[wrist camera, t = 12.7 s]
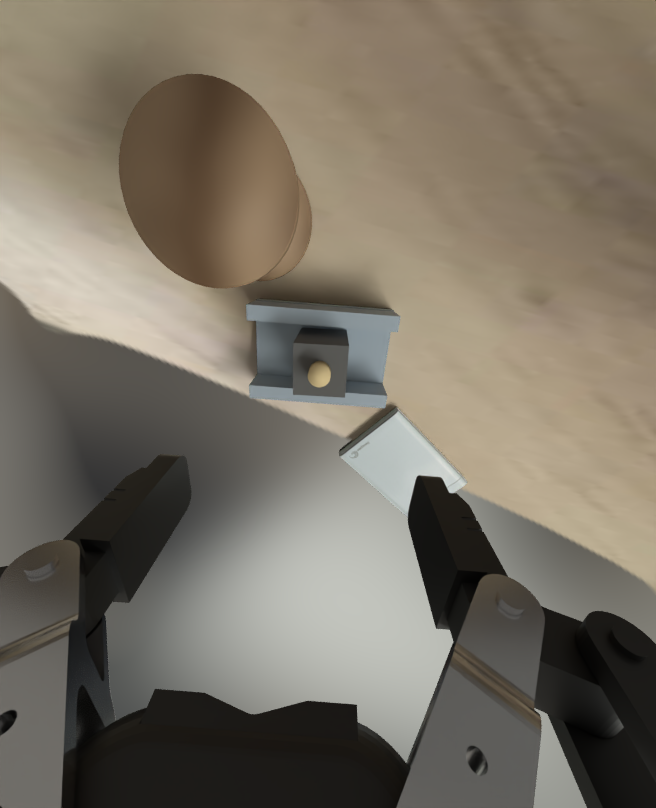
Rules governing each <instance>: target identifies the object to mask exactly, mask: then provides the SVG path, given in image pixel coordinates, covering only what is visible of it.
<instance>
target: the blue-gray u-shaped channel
mask: <svg viewBox="0 0 656 808" xmlns="http://www.w3.org/2000/svg"><path fill="white" fill-rule="evenodd" d="M246 313H247V320H250V321H256V334H257V373H258V374H257V375H256V377H255V378H254V379H253V381H252V382H251V383H250V385H249V392H250V398H258V399H271V400H284V401H297V402H310V403H323V404H336V405H349V406H362V407H375V408H385V406H386V400H387V394H386V391H385V389H384V386H383V384H382V383H383V377H384V371H385V364H386V358H387V352H388V345H389V339H390V333H391V332H398V328H399V322H400V316H399V315H398V314H397V313H395V312H394V310H392V309H382V308H369V307H357V306H344V305H331V304H319V303H306V302H293V301H281V300H268V299H256V301H253V302H251V303H248V304H246ZM302 327H303V328H320V329H337V330H347V335H348V342H349V354H348V367H347V379H346V391H345V398H341V397H324V396H307V395H293V342H294V340H295V339H296V337H297V335H298V333H299V332H300V330H301V328H302Z"/></svg>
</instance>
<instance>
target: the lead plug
mask: <svg viewBox="0 0 656 808" xmlns="http://www.w3.org/2000/svg"><path fill="white" fill-rule="evenodd" d="M348 354H349V342H348V335H347V330H337V329H320V328H303V327H302V328H301V330H300V332H299V333H298V335H297V337H296V339H295V340H294V342H293V395H307V396H324V397H341V398H345V391H346V379H347V367H348Z"/></svg>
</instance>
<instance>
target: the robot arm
mask: <svg viewBox="0 0 656 808" xmlns="http://www.w3.org/2000/svg"><path fill="white" fill-rule="evenodd" d="M190 500H191V485H190V479H189V472H188V465H187V460H186V457H185V456H180V455H167V454H160V455H158V456H157V457H156V458H155V459H154V460H153V462H152V463H151V464H150V465H149V466H148V467H147V468H140V469H139V470H137V471H135V472H134V473H132V474H130V475H128V476H127V477H125V478H124V479H123V480H122V481H121V482H120V483H119V484H118V485H117V486H116V487H115V489H114V491H111V492H110V493H109V494H108V495H107V496H106V497H105V498H104V501H101V502H100V503H99V504H98V505H97V506H96V507H95V508H94V509H93V510H92V511H91V512H90V513H89V514H88V515H87V516H86V517H85V518H84V519H83V520H82V521H81V522H80V523H79V524H78V525H77V526H76V527H75V528H74V529H73V530H72V531H71V532H70V533H69V534H68V535H67V536H66V537H65V538H64V539H63V540H56V541H51V542H47V543H44V544H42V545H39V546H37V547H35V548H33V549H31V550H29V551H27V552H26V553H24V554H22V555H21V556H19V557H18V558H17V559H15V560H14V561H13V562H12V563H11V564H10V565H9V566H5V567H0V808H533V805H534V796H535V787H536V777H537V768H538V759H539V750H540V740H541V717H540V714H539V713H537V712H536V711H535V710H534V708H536V709H538V710H541V711H543V712H545V713H547V714H548V716H549V719H550V721H551V723H552V726H553V728H554V730H555V733H556V735H557V738H558V740H559V742H560V744H561V747H562V749H563V752H564V754H565V757H566V759H567V761H568V764H569V766H570V768H571V771H572V773H573V775H574V778H575V780H576V783H577V785H578V787H579V790H580V792H581V794H582V797H583V799H584V801H585V804H586V806H587V808H656V644H655V643H654V642H653V641H652V640H651V639H650V638H649V637H648V636H647V635H646V634H645V633H643V632H642V631H641V630H640V629H638V628H637V627H636V626H634V625H633V624H631V623H630V622H628V621H626V620H624V619H623V618H621V617H619V616H616V615H614V614H611V613H608V612H603V611H595V612H591V613H589V614H588V616H587V617H586V618H585V620H584V621H583V622H581V621H579V620H576V619H573V618H570V617H568V616H565V615H562V614H560V613H557V612H554V611H552V610H549V609H547V608H544V607H542V606H541V605H540V603H539V602H538V600H537V599H536V598H535V596H534V595H533V594H532V593H531V592H530V591H529V590H528V589H527V588H526V587H524V586H523V585H521V584H520V583H519V582H517V581H515V580H514V579H511V578H509V577H508V576H507V574H506V572H505V570H504V569H503V567H502V565H501V563H500V561H499V559H498V558H497V556H496V554H495V552H494V550H493V548H492V547H491V545H490V543H489V541H488V540H487V537H486V536H485V534H484V532H482V528H481V526H480V525H479V523H478V521H476V518H475V516H474V514H473V512H472V510H471V508H470V506H469V505H468V504H467V503H466V502H465V501H464V500H463V499H462V498H461V497H460V496H459V495H458V494H457V493H449V491H448V489H447V487H446V485H445V483H444V481H443V479H442V478H441V477H434V476H422V475H418V476H417V478H416V481H415V485H414V489H413V493H412V497H411V501H410V505H409V510H408V525H409V530H410V533H411V537H412V541H413V545H414V548H415V552H416V556H417V560H418V563H419V567H420V571H421V574H422V578H423V582H424V586H425V589H426V593H427V596H428V600H429V604H430V607H431V611H432V615H433V619H434V622H435V626H436V629H449V630H450V631H451V634H452V638H453V641H454V642H453V644H452V647H451V649H450V652H449V655H448V657H447V660H446V662H445V665H444V668H443V670H442V673H441V675H440V678H439V681H438V683H437V686H436V688H435V691H434V694H433V697H432V699H431V701H430V704H429V707H428V709H427V712H426V714H425V717H424V720H423V722H422V725H421V727H420V729H419V732H418V735H417V737H416V740H415V742H414V744H413V747H412V749H411V752H410V755H409V757H408V760H407V762H406V763H405V761H404V760H403V759H402V758H401V756H400V755H399V754H398V753H397V752H396V751H395V750H394V749H393V748H392V746H391V745H390V744H389V743H387V742H386V741H385V740H384V739H383V738H382V737H381V736H379V735H378V734H377V733H375V732H374V731H372V730H371V729H369V728H368V727H366V726H364V725H362V724H360V723H358V722H357V705H353V704H341V703H327V702H315V701H305V702H301V703H298V704H294V705H290V706H286V707H283V708H279V709H275V710H271V711H268V712H264V713H260V714H255V715H254V714H248V713H246V712H244V711H242V710H239V709H237V708H235V707H233V706H231V705H229V704H227V703H225V702H223V701H221V700H219V699H216V698H214V697H212V696H210V695H208V694H206V693H199V692H187V691H174V690H161V689H155V690H154V693H153V695H152V698H151V699H150V702H149V704H148V706H147V708H144V709H141V710H138V711H136V712H133V713H131V714H128V715H126V716H124V717H122V718H120V719H119V720H117V721H116V719H115V713H114V707H113V703H112V699H111V693H110V683H109V664H108V646H107V627H106V616H105V614H104V613H105V612H106V610H107V609H108V607H109V606H110V604H111V603H112V601H113V602H125V603H129V602H130V601H131V599H132V597H133V596H134V594H135V593H136V591H137V589H138V588H139V586H140V584H141V583H142V581H143V580H144V578H145V576H146V575H147V573H148V572H149V570H150V568H151V567H152V565H153V564H154V562H155V560H156V559H157V557H158V555H159V554H160V552H161V551H162V549H163V547H164V546H165V544H166V543H167V541H168V539H169V538H170V536H171V535H172V533H173V531H174V529H175V528H176V527H177V525H178V523H179V522H180V520H181V518H182V517H183V515H184V514H185V512H186V510H187V508H188V506H189V503H190Z"/></svg>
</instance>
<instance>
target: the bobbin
mask: <svg viewBox="0 0 656 808" xmlns="http://www.w3.org/2000/svg"><path fill="white" fill-rule="evenodd" d="M119 174H120V183H121V189H122V193H123V198H124V202H125V205H126V208H127V211H128V213H129V216H130V218H131V220H132V222H133V225H134V227H135V228H136V230H137V232H138V234H139V235H140V237H141V239H142V240H143V242H144V243H145V244H146V246H147V247H148V248H149V250H150V251H151V252H152V253H153V254H154V255H155V256H156V258H157V259H158V260H160V261H161V262H162V263H163V264H164V265H165V266H166V267H167V268H169V269H170V270H171V271H173V272H174V273H176V274H177V275H179V276H181V277H182V278H184V279H186V280H188V281H191V282H193V283H195V284H199V285H202V286H206V287H212V288H232V287H239V286H243V285H246V284H250V283H252V282H255V281H268V280H272V279H276V278H279V277H281V276H283V275H285V274H286V273H288V272H290V271H291V270H292V269H293V268H294V267H295V266H296V265H297V264H298V263H299V262H300V260H301V259H302V257H303V256H304V254H305V251H306V249H307V247H308V244H309V241H310V236H311V230H312V214H311V207H310V203H309V199H308V197H307V194H306V191H305V189H304V187H303V185H302V183H301V181H300V179H299V178H298V176H297V175H296V171H295V167H294V164H293V161H292V158H291V156H290V153H289V150H288V148H287V145H286V143H285V141H284V139H283V137H282V135H281V133H280V131H279V130H278V128H277V127H276V125H275V123H274V122H273V120H272V119H271V117H270V116H269V115H268V114H267V113H266V111H265V110H264V109H263V108H262V106H260V105H259V104H258V103H257V102H256V101H255V100H254V99H253V98H252V97H251V96H250V95H248V94H247V93H246V92H244V91H243V90H241V89H240V88H239V87H237V86H235V85H233V84H231V83H229V82H227V81H225V80H222V79H219V78H216V77H213V76H208V75H202V74H186V75H181V76H176V77H173V78H170V79H168V80H165V81H163V82H161V83H160V84H158V85H156V86H155V87H153V88H152V89H151V90H150V91H149V92H147V93H146V94H145V95H144V96H143V97H142V98H141V100H140V101H139V102H138V104H137V105H136V106H135V108H134V109H133V111H132V113H131V115H130V117H129V119H128V121H127V124H126V127H125V129H124V132H123V137H122V141H121V146H120V155H119Z"/></svg>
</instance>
